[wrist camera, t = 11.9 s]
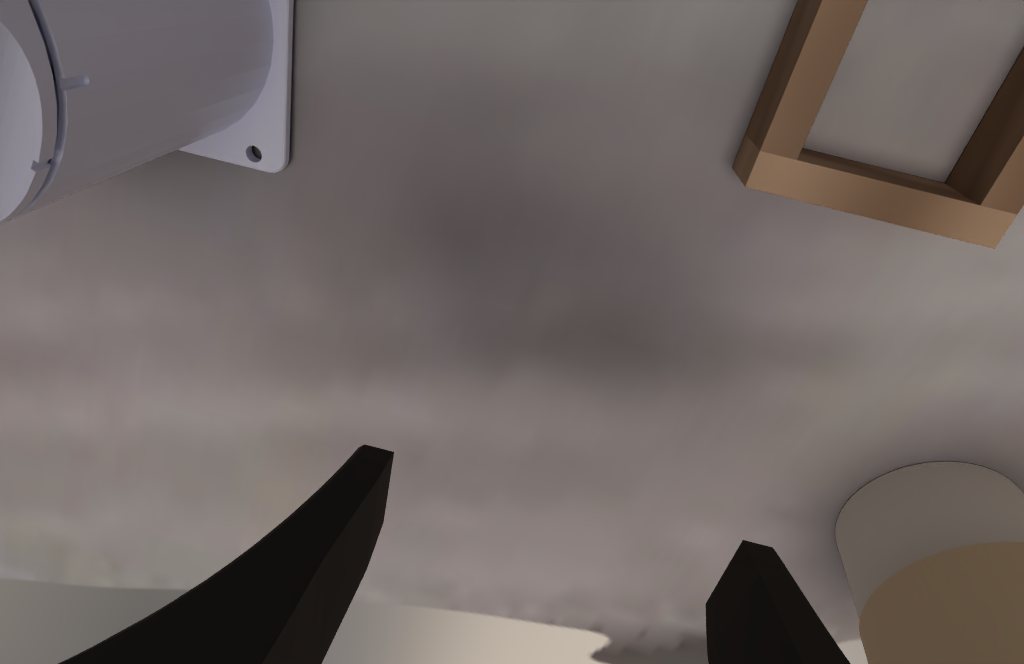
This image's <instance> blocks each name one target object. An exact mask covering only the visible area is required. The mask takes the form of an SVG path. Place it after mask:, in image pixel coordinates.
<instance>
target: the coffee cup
mask: <svg viewBox="0 0 1024 664" xmlns="http://www.w3.org/2000/svg"><path fill="white" fill-rule="evenodd" d="M835 538H836V543H837V546H838V550H839V553H840V556H841V560H842V563H843V566H844V569H845V573H846V576H847V579H848V583H849V586H850V589H851V593H852V596H853V599H854V603H855V606H856V609H857V612H858V616H859V619H860V624H859V629H860V636H861V640H862V643H863V647H864V650H865V653H866V657H867V660H868V664H1024V493H1023V492H1022V491H1021V490H1020V489H1019V488H1018V487H1017V486H1016V485H1015V484H1014V483H1013V482H1012V481H1011V480H1009V479H1008V478H1007V477H1005V476H1003V475H1002V474H1000V473H998V472H996V471H993V470H991V469H988V468H985V467H982V466H979V465H974V464H969V463H962V462H929V463H922V464H916V465H911V466H907V467H904V468H900V469H897V470H894V471H892V472H889V473H887V474H884V475H882V476H880V477H878V478H876V479H875V480H873V481H871V482H869V483H868V484H866V485H865V486H864V487H862V488H861V489H860V490H858V491H857V492H856V493H855V494H854V495H853V496H852V497H851V498H850V499H849V500H848V501H847V503H846V504H845V505H844V507H843V508H842V510H841V512H840V514H839V516H838V519H837V522H836V527H835Z"/></svg>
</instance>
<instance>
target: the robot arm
mask: <svg viewBox="0 0 1024 664" xmlns="http://www.w3.org/2000/svg"><path fill="white" fill-rule="evenodd" d="M293 3H294V0H0V224H2V223H3V222H5V221H9V220H12V219H14V218H17V217H19V216H21V215H24V214H26V213H28V212H31V211H33V210H36V209H38V208H40V207H43V206H45V205H47V204H50V203H52V202H55V201H57V200H59V199H62V198H64V197H66V196H69V195H71V194H73V193H76V192H78V191H81V190H83V189H85V188H88V187H90V186H92V185H95V184H97V183H100V182H102V181H104V180H107V179H109V178H111V177H114V176H116V175H118V174H121V173H123V172H126V171H128V170H130V169H133V168H135V167H137V166H140V165H142V164H144V163H147V162H149V161H152V160H154V159H156V158H159V157H161V156H163V155H166V154H168V153H171V152H173V151H175V150H180V151H184V152H188V153H192V154H196V155H200V156H204V157H208V158H212V159H216V160H220V161H224V162H228V163H232V164H236V165H240V166H244V167H248V168H253V169H257V170H261V171H265V172H269V173H277V172H279V171H281V170H283V169H284V168H285V167H286V166H287V165H288V162H289V146H290V110H291V75H292V39H293ZM252 146H255V147H257V148H258V149H259V150H260V151H261V154H262V158H261V159H258V158H256V157H255V156H254V154H253V153H252ZM393 455H394V452H392V451H388V450H384V449H380V448H376V447H372V446H368V445H363V446H361V447H359V448H358V449H357V450H356V451H355V452H354V454H353V455H352V456H351V457H350V458H349V459H348V460H347V461H346V462H345V463H344V465H343V466H342V467H341V468H340V469H339V470H338V471H337V472H336V473H335V474H334V475H333V476H332V477H331V478H330V479H329V480H328V481H327V482H326V483H325V484H324V485H323V486H322V487H321V488H320V489H319V490H318V491H316V492H315V493H314V494H313V495H312V496H311V497H310V498H309V499H308V500H307V501H306V502H304V503H303V504H302V505H301V506H300V507H299V508H298V509H297V510H296V511H295V512H293V513H292V514H291V515H290V516H289V517H288V518H287V519H285V520H284V521H283V522H282V523H281V524H279V525H278V526H277V527H276V528H274V529H273V530H272V531H271V532H270V533H268V534H267V535H266V536H265V537H263V538H262V539H261V540H260V541H259V542H257V543H256V544H255V545H254V546H252V547H251V548H250V549H248V550H247V551H246V552H244V553H243V554H242V555H240V556H239V557H238V558H236V559H235V560H234V561H232V562H231V563H229V564H228V565H227V566H225V567H224V568H222V569H221V570H220V571H218V572H217V573H215V574H214V575H212V576H211V577H210V578H208V579H207V580H205V581H204V582H202V583H201V584H199V585H197V586H196V587H194V588H193V589H191V590H190V591H188V592H187V593H185V594H184V595H182V596H180V597H179V598H177V599H176V600H174V601H173V602H171V603H169V604H168V605H166V606H164V607H163V608H161V609H160V610H158V611H156V612H154V613H153V614H151V615H149V616H148V617H146V618H144V619H142V620H141V621H139V622H137V623H135V624H133V625H131V626H130V627H128V628H126V629H124V630H122V631H121V632H119V633H117V634H115V635H113V636H111V637H109V638H108V639H106V640H104V641H102V642H100V643H99V644H97V645H95V646H93V647H91V648H89V649H87V650H85V651H83V652H81V653H79V654H77V655H76V656H73V657H71V658H70V659H67V660H65V661H63V662H61V663H59V664H322V661H323V659H324V657H325V655H326V653H327V651H328V649H329V647H330V645H331V643H332V641H333V639H334V636H335V635H336V632H337V630H338V628H339V626H340V624H341V622H342V620H343V618H344V616H345V614H346V612H347V610H348V607H349V605H350V603H351V601H352V599H353V597H354V595H355V593H356V591H357V589H358V587H359V584H360V582H361V580H362V578H363V576H364V574H365V572H366V570H367V567H368V564H369V561H370V559H371V556H372V553H373V550H374V548H375V545H376V542H377V539H378V536H379V533H380V530H381V528H382V525H383V521H384V515H385V508H386V501H387V495H388V488H389V482H390V475H391V468H392V462H393ZM706 634H707V653H708V661H709V664H850V662H849V661H848V660H847V658H846V657H845V655H844V654H843V652H842V651H841V650H840V648H839V647H838V645H837V644H836V642H835V641H834V639H833V638H832V636H831V635H830V633H829V632H828V631H827V629H826V628H825V626H824V625H823V623H822V622H821V620H820V619H819V617H818V616H817V614H816V613H815V611H814V609H813V608H812V606H811V605H810V603H809V602H808V600H807V599H806V597H805V596H804V594H803V593H802V591H801V590H800V588H799V587H798V585H797V583H796V582H795V580H794V579H793V577H792V576H791V574H790V573H789V571H788V570H787V568H786V567H785V565H784V563H783V562H782V560H781V559H780V557H779V556H778V555H777V553H776V552H775V550H774V549H773V548H772V547H768V546H764V545H760V544H756V543H752V542H749V541H745V540H743V541H742V543H741V544H740V546H739V548H738V550H737V551H736V553H735V555H734V556H733V558H732V560H731V562H730V563H729V565H728V567H727V568H726V570H725V572H724V573H723V575H722V577H721V579H720V580H719V582H718V584H717V585H716V587H715V589H714V591H713V592H712V594H711V596H710V597H709V599H708V601H707V603H706Z"/></svg>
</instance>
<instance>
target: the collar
mask: <svg viewBox="0 0 1024 664" xmlns="http://www.w3.org/2000/svg"><path fill="white" fill-rule="evenodd" d="M867 2H868V0H798V2H797V5H796V7H795V10H794V13H793V15H792V18H791V20H790V23H789V25H788V28H787V30H786V33H785V35H784V38H783V40H782V43H781V45H780V48H779V50H778V53H777V55H776V58H775V60H774V63H773V66H772V68H771V71H770V73H769V76H768V78H767V81H766V83H765V86H764V88H763V91H762V93H761V96H760V98H759V101H758V103H757V106H756V108H755V111H754V114H753V116H752V119H751V121H750V124H749V126H748V129H747V131H746V134H745V136H744V139H743V141H742V144H741V146H740V149H739V151H738V154H737V156H736V159H735V162H734V164H733V167H732V168H733V169H734V171H735V172H736V174H737V175H738V177H739V178H740V180H741V182H742V183H743V185H744V186H745V187H747V188H751V189H755V190H759V191H763V192H767V193H771V194H775V195H779V196H783V197H787V198H791V199H796V200H800V201H804V202H808V203H812V204H816V205H820V206H824V207H828V208H832V209H836V210H840V211H844V212H848V213H852V214H856V215H860V216H864V217H868V218H872V219H876V220H880V221H884V222H888V223H893V224H897V225H901V226H905V227H909V228H913V229H917V230H921V231H925V232H929V233H933V234H937V235H941V236H945V237H949V238H953V239H957V240H961V241H965V242H969V243H973V244H977V245H981V246H985V247H990V248H994V249H995V248H996V246H997V245H998V243H999V241H1000V240H1001V238H1002V237H1003V235H1004V234H1005V232H1006V231H1007V229H1008V228H1009V226H1010V225H1011V223H1012V222H1013V220H1014V219H1015V217H1016V216H1017V214H1018V213H1019V211H1020V210H1021V208H1022V207H1023V205H1024V49H1023V50H1022V52H1021V54H1020V56H1019V57H1018V59H1017V61H1016V62H1015V64H1014V66H1013V68H1012V69H1011V71H1010V73H1009V74H1008V76H1007V78H1006V80H1005V81H1004V83H1003V85H1002V87H1001V88H1000V90H999V92H998V93H997V95H996V97H995V99H994V100H993V102H992V104H991V105H990V107H989V109H988V111H987V112H986V114H985V116H984V118H983V119H982V121H981V123H980V124H979V126H978V128H977V130H976V131H975V133H974V135H973V136H972V138H971V140H970V142H969V143H968V145H967V147H966V149H965V150H964V152H963V154H962V155H961V157H960V159H959V161H958V162H957V164H956V166H955V167H954V169H953V171H952V173H951V174H950V176H949V178H948V180H947V181H946V183H941V182H937V181H933V180H929V179H925V178H921V177H917V176H913V175H909V174H905V173H901V172H897V171H892V170H888V169H884V168H880V167H876V166H872V165H868V164H864V163H860V162H856V161H852V160H848V159H844V158H840V157H836V156H832V155H828V154H824V153H820V152H816V151H812V150H808V149H804V148H802V147H803V145H804V143H805V140H806V138H807V136H808V134H809V132H810V129H811V127H812V125H813V123H814V120H815V118H816V116H817V114H818V111H819V109H820V107H821V105H822V102H823V100H824V98H825V96H826V93H827V91H828V89H829V87H830V85H831V82H832V80H833V78H834V76H835V73H836V71H837V69H838V67H839V64H840V62H841V60H842V58H843V55H844V53H845V51H846V49H847V46H848V44H849V42H850V40H851V38H852V35H853V33H854V31H855V29H856V26H857V24H858V22H859V20H860V17H861V15H862V13H863V11H864V8H865V6H866V4H867Z"/></svg>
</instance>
